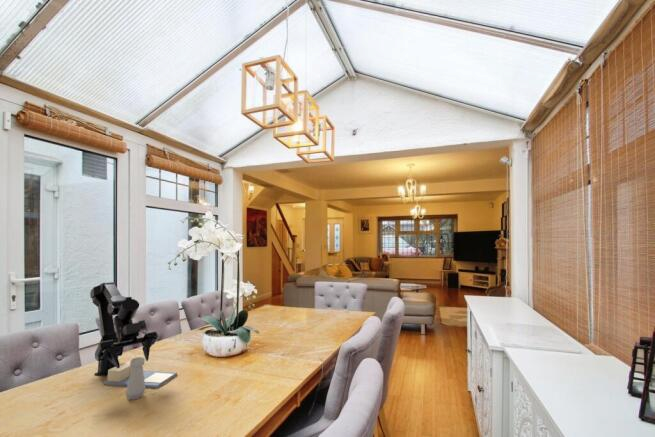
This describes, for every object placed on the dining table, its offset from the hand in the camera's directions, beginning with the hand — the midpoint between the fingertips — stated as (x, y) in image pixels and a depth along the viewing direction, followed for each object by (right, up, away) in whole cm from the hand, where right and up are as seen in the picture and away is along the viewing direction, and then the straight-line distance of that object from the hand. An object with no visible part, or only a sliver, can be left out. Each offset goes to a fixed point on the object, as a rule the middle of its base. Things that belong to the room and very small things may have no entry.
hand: (133, 363), depth 111 cm
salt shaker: (+3, -10, -3) cm, 11 cm away
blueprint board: (-4, -11, +11) cm, 16 cm away
